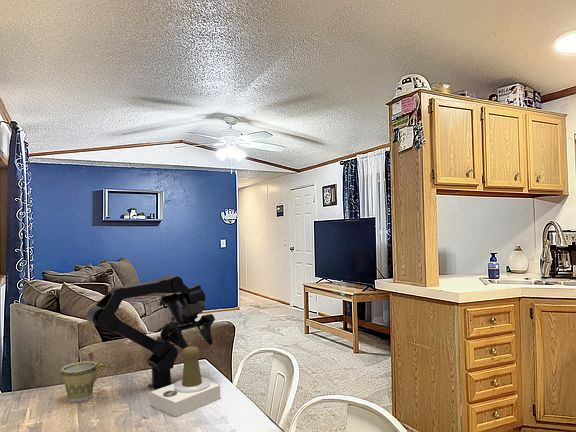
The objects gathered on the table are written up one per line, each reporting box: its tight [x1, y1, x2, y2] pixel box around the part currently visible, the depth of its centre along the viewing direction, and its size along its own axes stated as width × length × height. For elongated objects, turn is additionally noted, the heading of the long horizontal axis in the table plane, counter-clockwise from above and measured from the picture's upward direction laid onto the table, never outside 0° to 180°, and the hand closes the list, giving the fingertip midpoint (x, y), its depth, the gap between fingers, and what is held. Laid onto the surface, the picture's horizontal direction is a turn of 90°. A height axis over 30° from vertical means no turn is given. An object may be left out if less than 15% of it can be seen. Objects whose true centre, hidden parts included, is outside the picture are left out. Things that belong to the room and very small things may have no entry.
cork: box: [181, 346, 202, 387], centre depth 134 cm, size 6×6×11 cm
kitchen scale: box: [149, 376, 221, 418], centre depth 132 cm, size 13×16×5 cm
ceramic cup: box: [61, 361, 106, 403], centre depth 140 cm, size 13×10×10 cm
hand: (200, 347), depth 142 cm, fingers open, 9 cm apart
